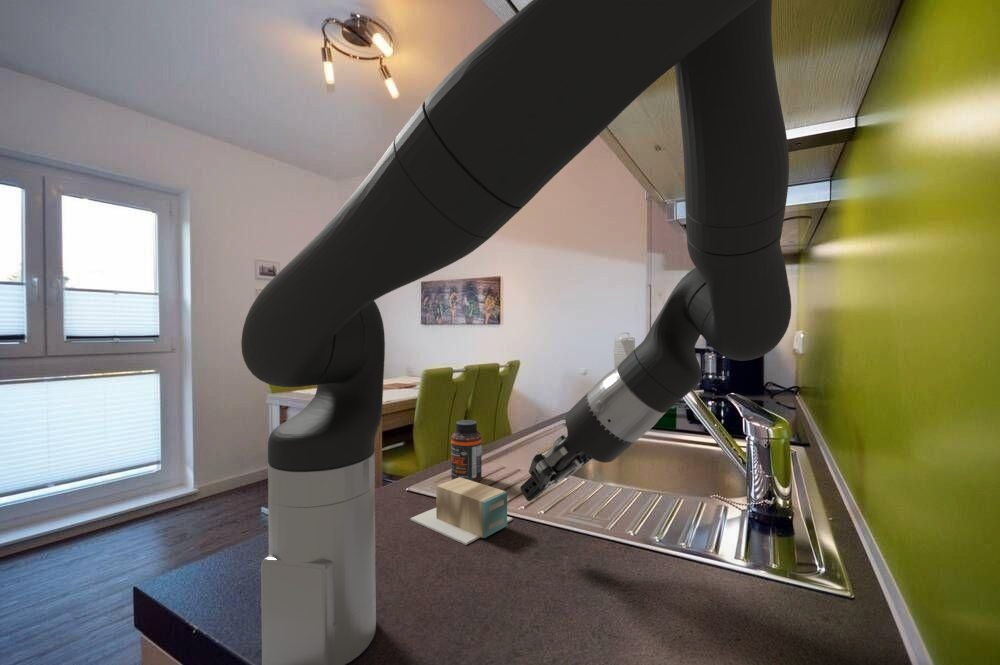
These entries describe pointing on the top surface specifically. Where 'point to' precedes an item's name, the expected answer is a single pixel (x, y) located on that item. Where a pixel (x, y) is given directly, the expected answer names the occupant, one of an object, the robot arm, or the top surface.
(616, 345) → the skyscraper
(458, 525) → the beech block
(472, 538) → the grey mat
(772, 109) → the robot arm
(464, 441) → the supplement bottle
